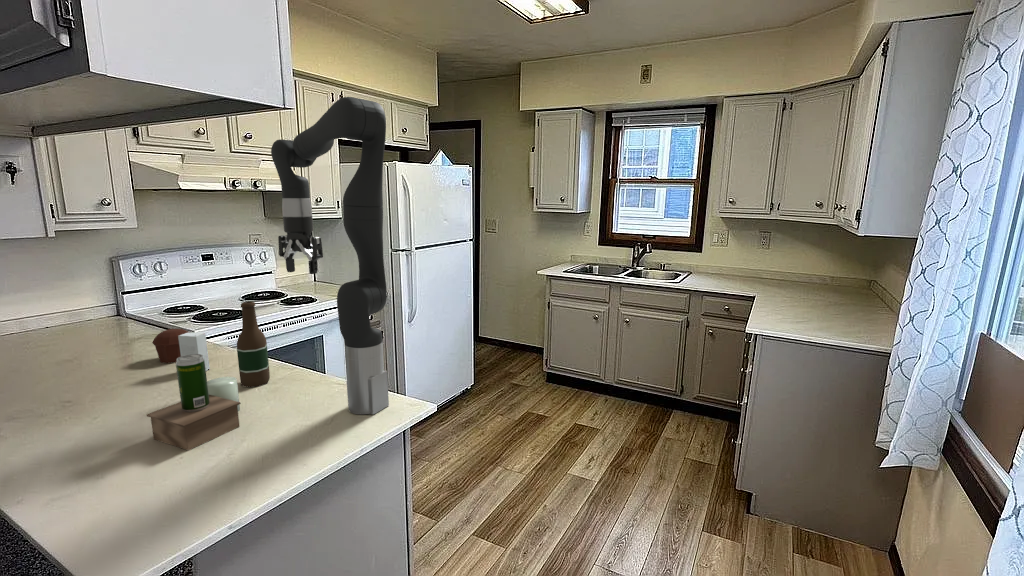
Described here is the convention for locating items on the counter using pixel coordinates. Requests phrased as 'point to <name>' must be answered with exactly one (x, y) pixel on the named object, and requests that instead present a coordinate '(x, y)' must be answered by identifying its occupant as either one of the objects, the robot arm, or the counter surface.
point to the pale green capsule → (224, 388)
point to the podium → (194, 423)
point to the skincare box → (194, 345)
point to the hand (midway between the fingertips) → (302, 272)
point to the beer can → (192, 382)
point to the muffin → (168, 345)
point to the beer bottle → (252, 350)
